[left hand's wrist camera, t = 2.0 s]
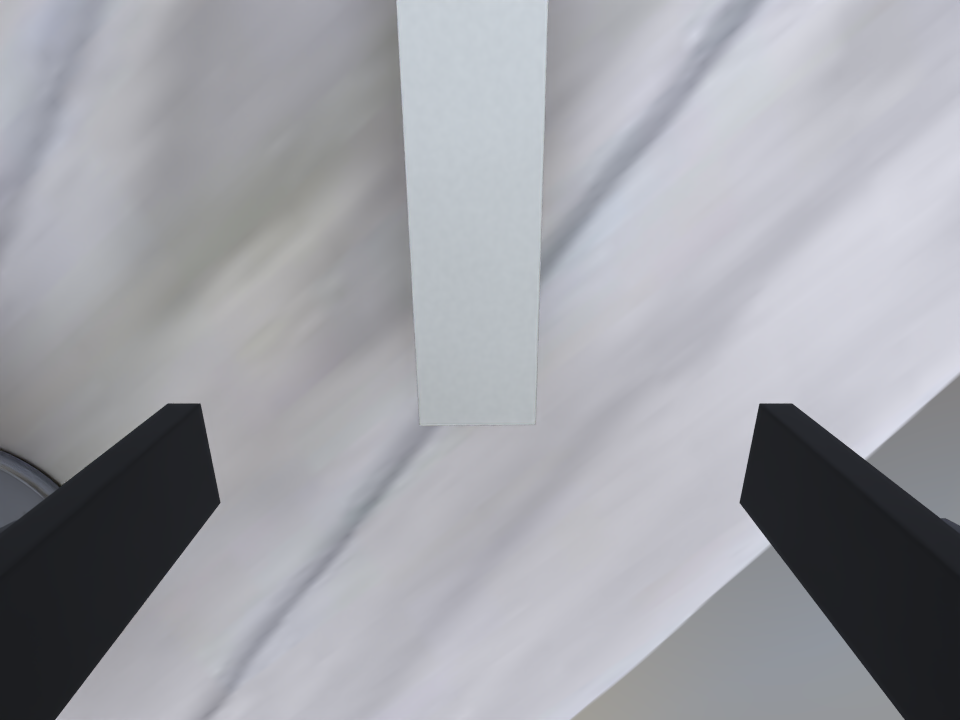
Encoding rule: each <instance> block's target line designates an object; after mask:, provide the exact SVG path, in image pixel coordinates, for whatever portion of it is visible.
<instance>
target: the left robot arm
mask: <svg viewBox="0 0 960 720" xmlns="http://www.w3.org/2000/svg"><path fill="white" fill-rule="evenodd" d="M219 504H220V498H219V493H218V488H217V483H216V478H215V473H214V468H213V463H212V459H211V454H210V449H209V444H208V439H207V434H206V429H205V424H204V419H203V414H202V409H201V404H167V405H165V406H164V407H163V408H162V409H160V410H159V411H158V412H156V413H155V414H154V415H153V416H151V417H150V418H149V419H147V420H146V421H145V422H143V423H142V424H141V425H140V426H138V427H137V428H136V429H134V430H133V431H132V432H131V433H129V434H128V435H127V436H125V437H124V438H123V439H122V440H120V441H119V442H118V443H116V444H115V445H114V446H112V447H111V448H110V449H109V450H107V451H106V452H105V453H103V454H102V455H101V456H100V457H98V458H97V459H96V460H94V461H93V462H92V463H91V464H89V465H88V466H87V467H85V468H84V469H83V470H81V471H80V472H79V473H78V474H76V475H75V476H74V477H72V478H71V479H70V480H69V481H67V482H66V483H65V484H63V485H62V486H61V487H59V486H58V485H56V484H55V483H54V482H53V481H52V480H51V479H50V478H48V477H47V476H46V475H44V474H43V473H42V472H40V471H39V470H37V469H36V468H34V467H33V466H31V465H29V464H28V463H26V462H24V461H22V460H21V459H19V458H17V457H15V456H13V455H10V454H8V453H6V452H4V451H1V450H0V720H55V719H56V718H57V717H58V715H59V714H60V713H61V711H62V710H63V709H64V707H65V706H66V705H67V703H68V702H69V701H70V700H71V698H72V697H73V696H74V694H75V693H76V692H77V690H78V689H79V688H80V686H81V685H82V684H83V682H84V681H85V680H86V679H87V677H88V676H89V675H90V673H91V672H92V671H93V669H94V668H95V667H96V665H97V664H98V663H99V661H100V660H101V659H102V658H103V656H104V655H105V654H106V652H107V651H108V650H109V648H110V647H111V646H112V644H113V643H114V642H115V640H116V639H117V638H118V637H119V635H120V634H121V633H122V631H123V630H124V629H125V627H126V626H127V625H128V623H129V622H130V621H131V619H132V618H133V617H134V616H135V614H136V613H137V612H138V610H139V609H140V608H141V606H142V605H143V604H144V602H145V601H146V600H147V598H148V597H149V596H150V595H151V593H152V592H153V591H154V589H155V588H156V587H157V585H158V584H159V583H160V581H161V580H162V579H163V577H164V576H165V575H166V573H167V572H168V571H169V570H170V568H171V567H172V566H173V564H174V563H175V562H176V560H177V559H178V558H179V556H180V555H181V554H182V552H183V551H184V550H185V549H186V547H187V546H188V545H189V543H190V542H191V541H192V539H193V538H194V537H195V535H196V534H197V533H198V531H199V530H200V529H201V528H202V526H203V525H204V524H205V522H206V521H207V520H208V518H209V517H210V516H211V514H212V513H213V512H214V510H215V509H216V508H217V507H218V505H219ZM740 504H741V505H742V507H743V508H744V509H745V510H746V512H747V513H748V514H749V516H750V517H751V518H752V520H753V521H754V522H755V524H756V525H757V526H758V528H759V529H760V530H761V531H762V533H763V534H764V535H765V537H766V538H767V539H768V541H769V542H770V543H771V545H772V546H773V547H774V549H775V550H776V551H777V552H778V554H779V555H780V556H781V558H782V559H783V560H784V562H785V563H786V564H787V566H788V567H789V568H790V570H791V571H792V572H793V573H794V575H795V576H796V577H797V579H798V580H799V581H800V583H801V584H802V585H803V587H804V588H805V589H806V590H807V592H808V593H809V595H810V596H811V597H812V598H813V600H814V601H815V602H816V604H817V605H818V606H819V608H820V609H821V610H822V612H823V613H824V614H825V616H826V617H827V618H828V619H829V621H830V622H831V623H832V625H833V626H834V627H835V629H836V630H837V631H838V633H839V634H840V635H841V636H842V638H843V639H844V640H845V642H846V643H847V644H848V646H849V647H850V648H851V650H852V651H853V652H854V654H855V655H856V656H857V658H858V659H859V660H860V661H861V663H862V664H863V665H864V667H865V668H866V669H867V671H868V672H869V673H870V675H871V676H872V677H873V679H874V680H875V681H876V682H877V684H878V685H879V686H880V688H881V689H882V690H883V692H884V693H885V694H886V696H887V697H888V698H889V700H890V701H891V702H892V703H893V705H894V706H895V707H896V709H897V710H898V711H899V713H900V714H901V715H902V717H903V718H904V719H905V720H960V526H959V525H957V524H955V523H953V522H951V521H950V520H948V519H945V518H939V517H938V516H937V515H935V514H934V513H933V512H931V511H930V510H929V509H928V508H926V507H925V506H924V505H922V504H921V503H920V502H918V501H917V500H916V499H915V498H913V497H912V496H911V495H910V494H908V493H907V492H906V491H904V490H903V489H902V488H900V487H899V486H898V485H897V484H895V483H894V482H893V481H891V480H890V479H889V478H888V477H886V476H885V475H884V474H882V473H881V472H880V471H878V470H877V469H876V468H875V467H873V466H872V465H871V464H869V463H868V462H867V461H866V460H864V459H863V458H862V457H860V456H859V455H858V454H857V453H855V452H854V451H853V450H851V449H850V448H849V447H848V446H846V445H845V444H844V443H842V442H841V441H840V440H838V439H837V438H836V437H835V436H833V435H832V434H831V433H829V432H828V431H827V430H826V429H824V428H823V427H822V426H820V425H819V424H818V423H817V422H815V421H814V420H813V419H811V418H810V417H809V416H807V415H806V414H805V413H804V412H802V411H801V410H800V409H798V408H797V407H796V406H795V405H793V404H759V409H758V414H757V419H756V424H755V429H754V434H753V439H752V444H751V449H750V454H749V459H748V463H747V468H746V473H745V478H744V483H743V488H742V493H741V498H740Z"/></svg>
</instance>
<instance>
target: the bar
mask: <svg viewBox="0 0 960 720" xmlns="http://www.w3.org/2000/svg"><path fill="white" fill-rule="evenodd" d="M396 8H397V26H398V45H399V63H400V81H401V99H402V118H403V136H404V154H405V172H406V191H407V209H408V227H409V245H410V264H411V282H412V300H413V318H414V337H415V355H416V373H417V391H418V410H419V425H420V426H471V425H535V424H536V398H537V365H538V331H539V298H540V265H541V232H542V198H543V165H544V132H545V98H546V65H547V32H548V0H396Z"/></svg>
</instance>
